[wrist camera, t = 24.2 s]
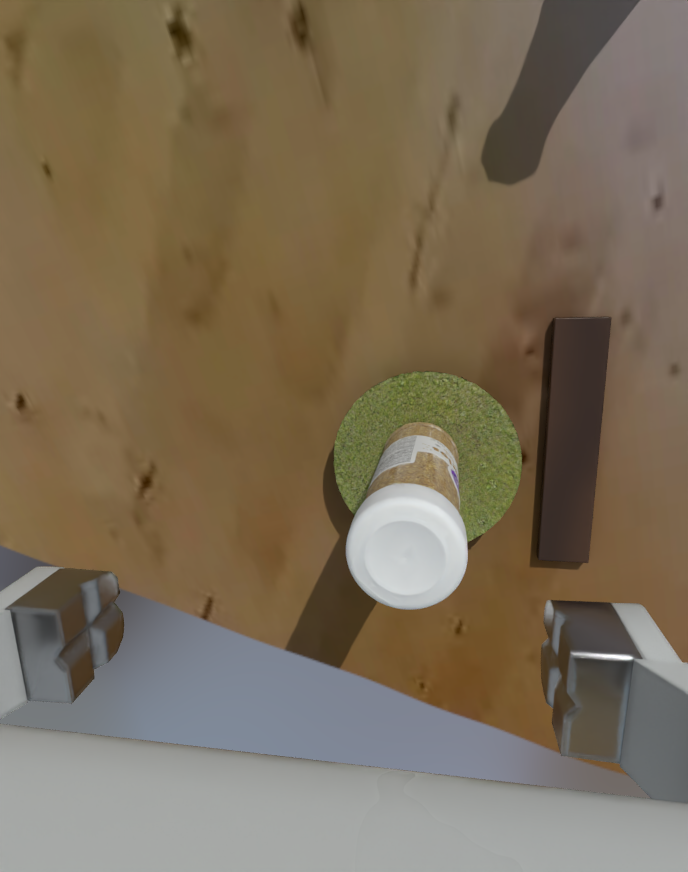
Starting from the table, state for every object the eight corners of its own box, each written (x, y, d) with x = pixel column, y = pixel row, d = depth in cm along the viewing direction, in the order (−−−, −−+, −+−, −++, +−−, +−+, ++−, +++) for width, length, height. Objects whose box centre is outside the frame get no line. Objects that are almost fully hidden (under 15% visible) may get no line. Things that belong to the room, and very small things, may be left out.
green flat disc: (503, 549, 35) (506, 563, 33) (333, 524, 37) (327, 537, 35) (531, 377, 32) (537, 382, 31) (345, 359, 34) (339, 362, 32)
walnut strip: (536, 556, 35) (538, 560, 34) (553, 317, 31) (555, 317, 31) (586, 558, 35) (588, 563, 34) (608, 316, 31) (611, 317, 30)
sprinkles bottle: (472, 471, 32) (491, 586, 20) (404, 504, 34) (381, 632, 21) (434, 405, 32) (430, 478, 19) (367, 441, 33) (320, 532, 20)
